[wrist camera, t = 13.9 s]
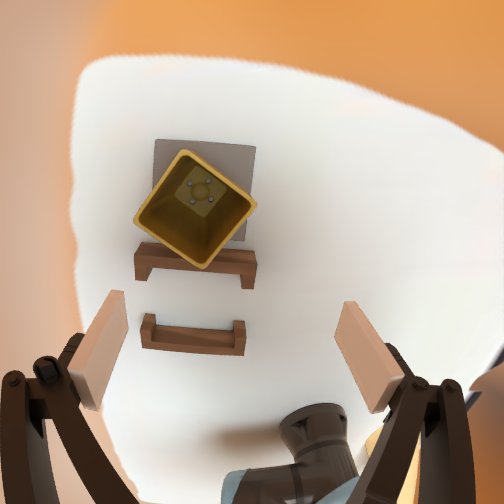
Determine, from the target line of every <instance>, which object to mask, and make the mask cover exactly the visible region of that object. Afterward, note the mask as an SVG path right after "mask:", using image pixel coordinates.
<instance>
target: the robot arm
mask: <svg viewBox="0 0 504 504" xmlns="http://www.w3.org/2000/svg"><path fill="white" fill-rule="evenodd" d="M127 332H128V322H127V315H126V308H125V300H124V292H123V291H117V290H111V291H110V293H109V295H108V296H107V298H106V300H105V301H104V303H103V305H102V306H101V308H100V310H99V311H98V313H97V315H96V316H95V318H94V320H93V322H92V323H91V325H90V327H89V329H88V330H87V332H86V334H82V333H76V334H75V335H73V336H72V337H71V338H70V339H69V341H68V343H67V345H66V346H65V348H64V349H63V352H62V353H61V355H60V356H59V358H58V360H57V359H56V358H55V357H53V356H44V357H41V358H39V359H37V360H36V361H35V363H34V365H33V371H34V373H35V375H36V377H37V378H28V379H27V378H25V376H24V374H23V373H22V372H20V371H15V370H14V371H10V372H8V373H7V374H6V375H5V376H4V377H3V380H2V389H1V403H0V456H1V471H2V481H3V489H4V496H5V503H6V504H60V502H59V498H58V494H57V490H56V486H55V481H54V477H53V472H52V467H51V461H50V455H49V449H48V442H47V434H46V426H45V419H52V420H53V422H54V424H55V427H56V429H57V431H58V434H59V436H60V438H61V440H62V443H63V445H64V447H65V449H66V451H67V453H68V455H69V457H70V459H71V461H72V463H73V465H74V467H75V469H76V471H77V473H78V475H79V476H80V478H81V480H82V482H83V483H84V485H85V487H86V489H87V490H88V492H89V494H90V495H91V497H92V498H93V500H94V502H95V503H96V504H139V502H138V501H137V500H136V498H135V497H134V496H133V495H132V493H131V492H130V490H129V489H128V488H127V486H126V485H125V484H124V482H123V481H122V479H121V478H120V477H119V475H118V474H117V472H116V471H115V469H114V468H113V466H112V465H111V463H110V462H109V460H108V458H107V457H106V455H105V454H104V452H103V450H102V449H101V447H100V445H99V444H98V442H97V440H96V439H95V437H94V435H93V433H92V432H91V430H90V428H89V426H88V424H87V423H86V421H85V419H84V417H83V415H82V413H81V411H80V409H79V404H80V402H81V403H82V405H83V407H84V408H85V409H90V410H94V411H99V408H100V405H101V402H102V399H103V396H104V393H105V390H106V387H107V385H108V382H109V379H110V376H111V373H112V371H113V368H114V365H115V363H116V360H117V357H118V355H119V352H120V350H121V347H122V344H123V342H124V339H125V337H126V334H127ZM334 338H335V340H336V342H337V344H338V346H339V348H340V350H341V352H342V354H343V356H344V358H345V360H346V362H347V364H348V366H349V369H350V371H351V373H352V375H353V377H354V379H355V381H356V383H357V385H358V387H359V390H360V392H361V394H362V396H363V398H364V400H365V402H366V404H367V407H368V409H369V411H370V413H371V414H374V413H379V412H384V410H385V408H386V407H387V405H389V407H390V409H391V410H390V411H389V413H388V415H387V416H386V418H385V419H384V421H383V423H384V425H383V428H382V430H381V433H380V435H379V438H378V440H377V442H376V444H375V447H374V449H373V451H372V453H371V455H370V458H369V460H368V462H367V464H366V466H365V468H364V470H363V472H362V474H361V476H359V474H358V472H357V469H356V466H355V463H354V460H353V457H352V455H351V452H350V449H349V446H348V443H347V417H346V414H345V411H344V409H343V408H342V407H340V406H339V405H336V404H316V405H312V406H308V407H305V408H302V409H300V410H298V411H296V412H294V413H292V414H290V415H289V416H288V417H286V418H285V419H284V420H283V422H282V423H281V425H280V433H281V438H282V440H283V441H284V443H285V444H286V446H287V447H288V449H289V450H290V452H291V453H292V455H293V457H294V461H295V464H289V465H282V466H275V467H266V468H256V469H250V468H248V469H246V470H239V471H232V472H230V473H228V474H227V475H226V477H225V479H224V482H223V486H222V492H221V504H397V500H398V497H399V495H400V492H401V490H402V487H403V484H404V482H405V479H406V476H407V473H408V471H409V468H410V465H411V462H412V458H413V455H414V452H415V449H416V445H417V442H418V438H419V435H420V431H421V460H420V461H421V462H420V485H419V498H418V504H476V494H475V493H476V491H475V474H474V462H473V452H472V444H471V437H470V431H469V424H468V418H467V412H466V407H465V402H464V397H463V393H462V388H461V386H460V384H459V383H458V382H456V381H455V380H452V379H445V380H443V382H442V383H441V385H440V386H437V385H429V383H428V382H427V381H426V380H425V379H423V378H422V377H418V376H415V375H414V374H413V372H412V371H411V369H410V368H409V366H408V365H407V364H406V362H405V361H404V360H403V358H402V356H400V353H399V352H398V350H397V349H396V348H395V347H394V346H393V345H391V344H390V343H384V342H383V341H382V339H381V338H380V336H379V335H378V333H377V332H376V330H375V329H374V327H373V326H372V324H371V323H370V322H369V320H368V319H367V317H366V316H365V314H364V313H363V311H362V310H361V309H360V307H359V306H358V304H357V303H356V302H344V306H343V309H342V313H341V316H340V320H339V323H338V326H337V329H336V333H335V336H334Z"/></svg>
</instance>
